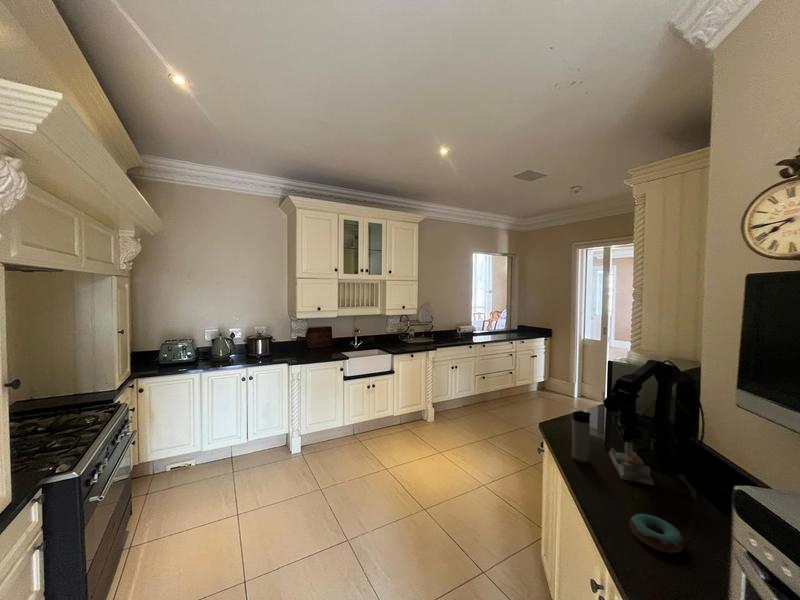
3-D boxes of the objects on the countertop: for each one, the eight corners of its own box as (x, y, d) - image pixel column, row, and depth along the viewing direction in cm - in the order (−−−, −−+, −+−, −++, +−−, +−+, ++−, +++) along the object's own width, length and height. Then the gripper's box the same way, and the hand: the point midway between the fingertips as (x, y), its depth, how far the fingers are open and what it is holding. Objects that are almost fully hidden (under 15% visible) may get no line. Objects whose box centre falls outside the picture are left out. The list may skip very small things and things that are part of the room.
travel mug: (592, 464, 127) (593, 415, 126) (574, 462, 128) (575, 414, 128) (586, 456, 133) (587, 410, 133) (569, 454, 134) (570, 409, 134)
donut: (636, 547, 84) (636, 533, 84) (624, 519, 95) (624, 506, 95) (692, 563, 80) (693, 548, 80) (673, 531, 91) (674, 518, 91)
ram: (636, 462, 125) (636, 443, 125) (640, 469, 120) (641, 448, 120) (618, 459, 128) (619, 440, 127) (622, 465, 123) (622, 445, 123)
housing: (639, 469, 120) (639, 456, 120) (643, 476, 116) (643, 462, 116) (623, 466, 122) (624, 453, 122) (627, 473, 118) (627, 459, 118)
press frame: (636, 459, 131) (636, 446, 131) (654, 485, 113) (654, 470, 113) (608, 454, 135) (609, 441, 135) (621, 478, 117) (621, 464, 116)
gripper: (660, 420, 116) (659, 461, 116) (643, 404, 133) (642, 440, 133) (624, 415, 120) (623, 455, 120) (612, 400, 137) (612, 435, 138)
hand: (626, 446), depth 128 cm, fingers closed
